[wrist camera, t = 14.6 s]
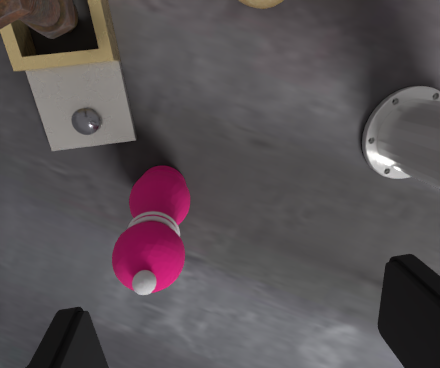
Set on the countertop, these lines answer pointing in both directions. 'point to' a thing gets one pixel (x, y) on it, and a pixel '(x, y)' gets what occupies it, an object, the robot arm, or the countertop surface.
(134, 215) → the pepper mill
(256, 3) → the bread roll
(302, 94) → the countertop surface
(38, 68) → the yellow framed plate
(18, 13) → the bolt
